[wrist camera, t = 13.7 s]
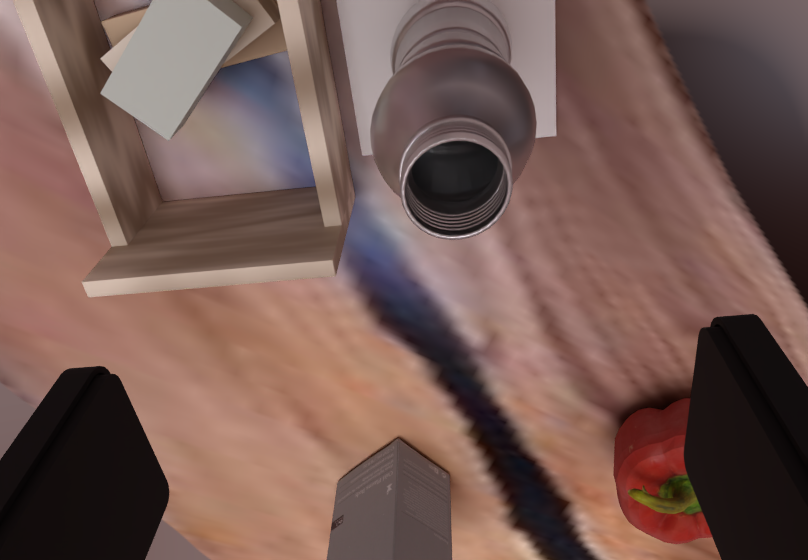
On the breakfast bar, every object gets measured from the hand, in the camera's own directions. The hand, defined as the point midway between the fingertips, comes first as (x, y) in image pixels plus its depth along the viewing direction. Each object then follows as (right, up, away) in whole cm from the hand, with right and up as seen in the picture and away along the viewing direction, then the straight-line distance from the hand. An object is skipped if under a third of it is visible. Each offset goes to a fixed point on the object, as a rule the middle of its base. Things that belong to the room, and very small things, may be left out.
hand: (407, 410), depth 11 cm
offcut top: (-12, +14, +25) cm, 31 cm away
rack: (-11, +15, +29) cm, 35 cm away
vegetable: (+20, -9, +43) cm, 48 cm away
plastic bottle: (+3, +16, +28) cm, 32 cm away
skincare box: (-1, -15, +48) cm, 50 cm away
